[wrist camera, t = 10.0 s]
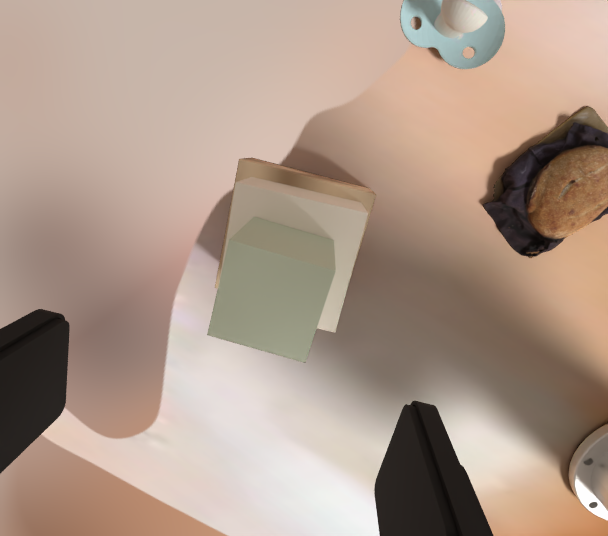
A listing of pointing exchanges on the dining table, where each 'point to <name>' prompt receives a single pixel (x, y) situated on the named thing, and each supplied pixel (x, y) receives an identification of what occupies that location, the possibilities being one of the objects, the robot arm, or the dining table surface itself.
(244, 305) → the sage block
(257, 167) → the tower base
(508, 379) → the dining table surface
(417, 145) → the dining table surface
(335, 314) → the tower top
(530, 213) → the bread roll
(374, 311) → the dining table surface
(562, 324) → the dining table surface
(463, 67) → the pacifier
